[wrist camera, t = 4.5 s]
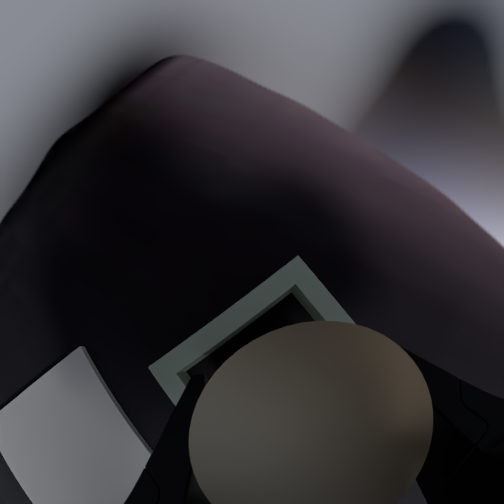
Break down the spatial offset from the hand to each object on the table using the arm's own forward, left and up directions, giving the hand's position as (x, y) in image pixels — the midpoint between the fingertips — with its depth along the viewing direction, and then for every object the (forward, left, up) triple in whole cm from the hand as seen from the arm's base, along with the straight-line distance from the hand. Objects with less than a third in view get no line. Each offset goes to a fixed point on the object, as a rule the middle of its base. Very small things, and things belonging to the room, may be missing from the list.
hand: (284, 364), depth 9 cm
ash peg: (-1, -1, -7) cm, 7 cm away
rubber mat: (-15, +1, -7) cm, 16 cm away
